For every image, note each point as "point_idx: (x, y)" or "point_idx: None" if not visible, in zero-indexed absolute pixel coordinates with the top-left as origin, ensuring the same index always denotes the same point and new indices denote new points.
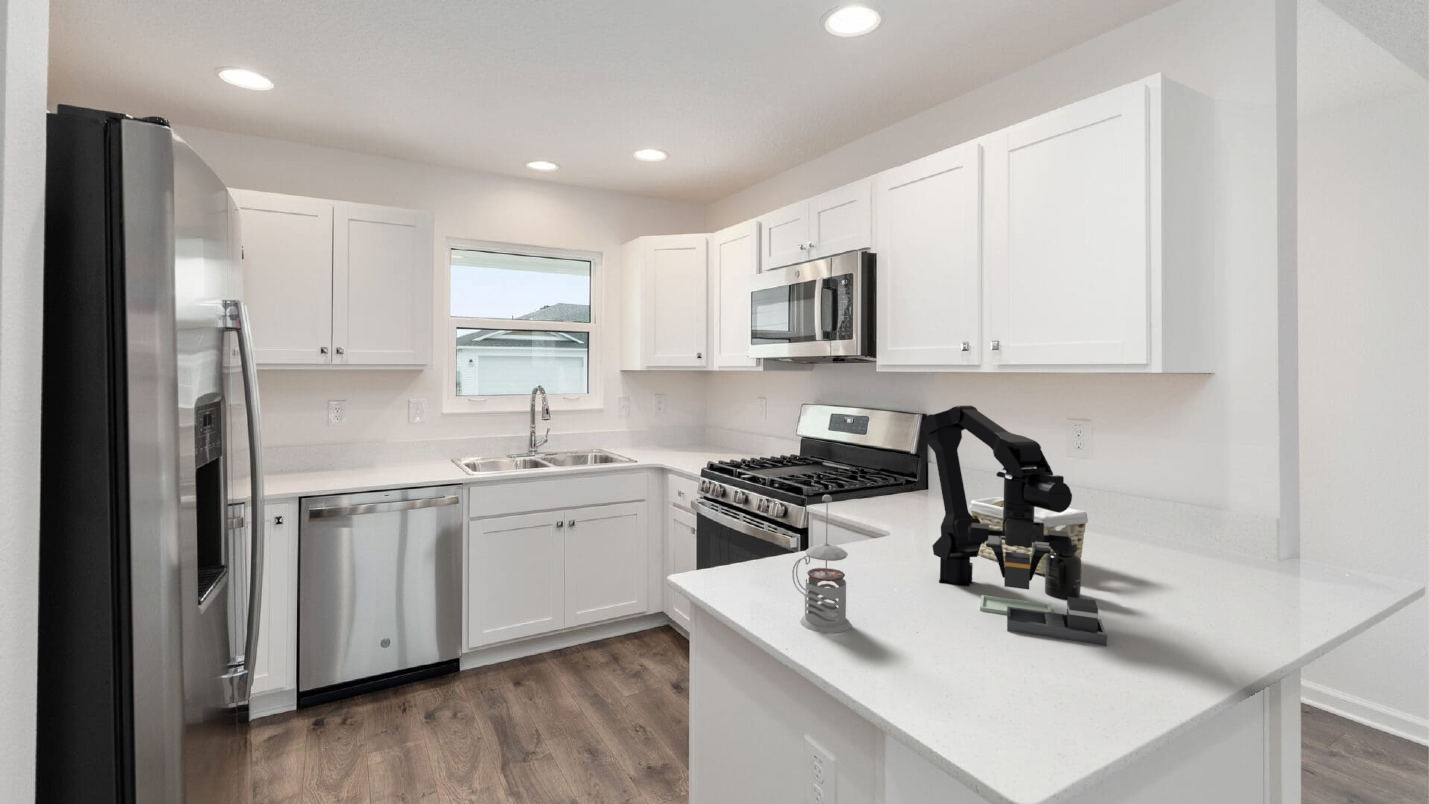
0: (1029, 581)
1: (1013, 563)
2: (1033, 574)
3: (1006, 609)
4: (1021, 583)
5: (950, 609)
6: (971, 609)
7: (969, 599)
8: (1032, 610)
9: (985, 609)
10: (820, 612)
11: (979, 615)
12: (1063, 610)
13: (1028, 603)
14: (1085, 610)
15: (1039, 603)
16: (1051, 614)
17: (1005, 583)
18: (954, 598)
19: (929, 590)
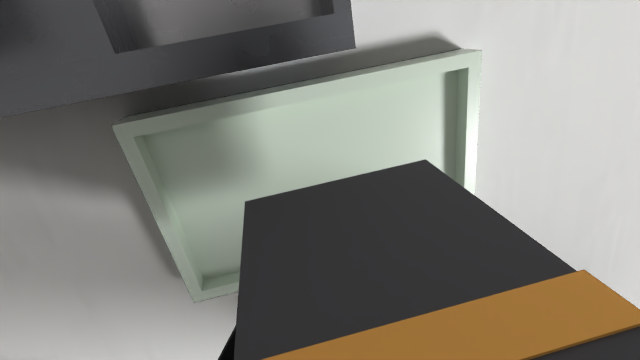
0: (242, 243)
1: (510, 352)
2: (221, 356)
3: (355, 149)
4: (310, 209)
5: (589, 15)
6: (497, 80)
7: (500, 201)
8: (199, 59)
9: (450, 56)
10: None
11: (463, 11)
12: (150, 311)
13: None
14: None
15: (234, 282)
16: (63, 52)
17: (431, 171)
18: (555, 175)
19: (634, 202)
